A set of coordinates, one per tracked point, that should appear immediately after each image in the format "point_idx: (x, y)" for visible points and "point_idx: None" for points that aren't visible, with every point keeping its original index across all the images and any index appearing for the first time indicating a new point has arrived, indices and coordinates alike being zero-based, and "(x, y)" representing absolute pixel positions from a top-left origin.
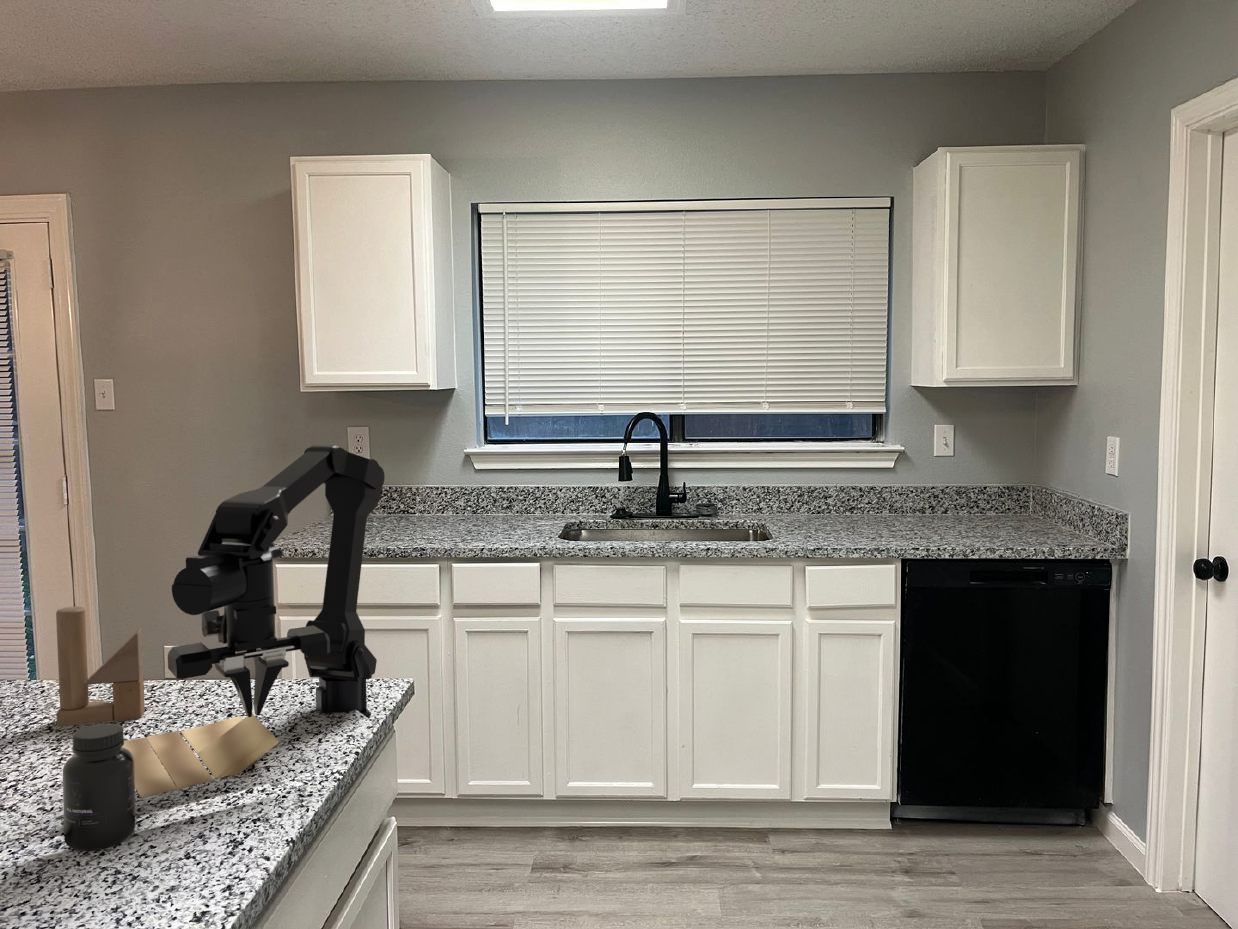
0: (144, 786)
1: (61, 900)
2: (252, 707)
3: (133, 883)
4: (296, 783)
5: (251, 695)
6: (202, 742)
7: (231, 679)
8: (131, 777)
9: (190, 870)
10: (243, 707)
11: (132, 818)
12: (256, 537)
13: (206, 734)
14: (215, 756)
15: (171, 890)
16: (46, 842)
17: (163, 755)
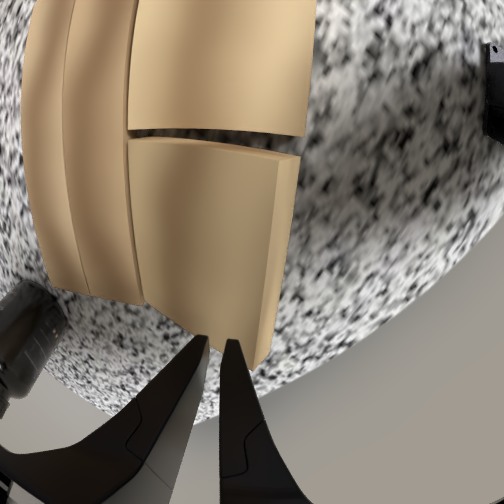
0: (48, 251)
1: (53, 368)
2: (202, 392)
3: (90, 386)
4: (276, 344)
5: (186, 442)
6: (156, 65)
7: (91, 441)
8: (35, 380)
9: (127, 401)
10: (179, 352)
11: (58, 342)
12: None
13: (184, 13)
14: (148, 229)
15: (117, 407)
16: (7, 279)
17: (70, 109)
